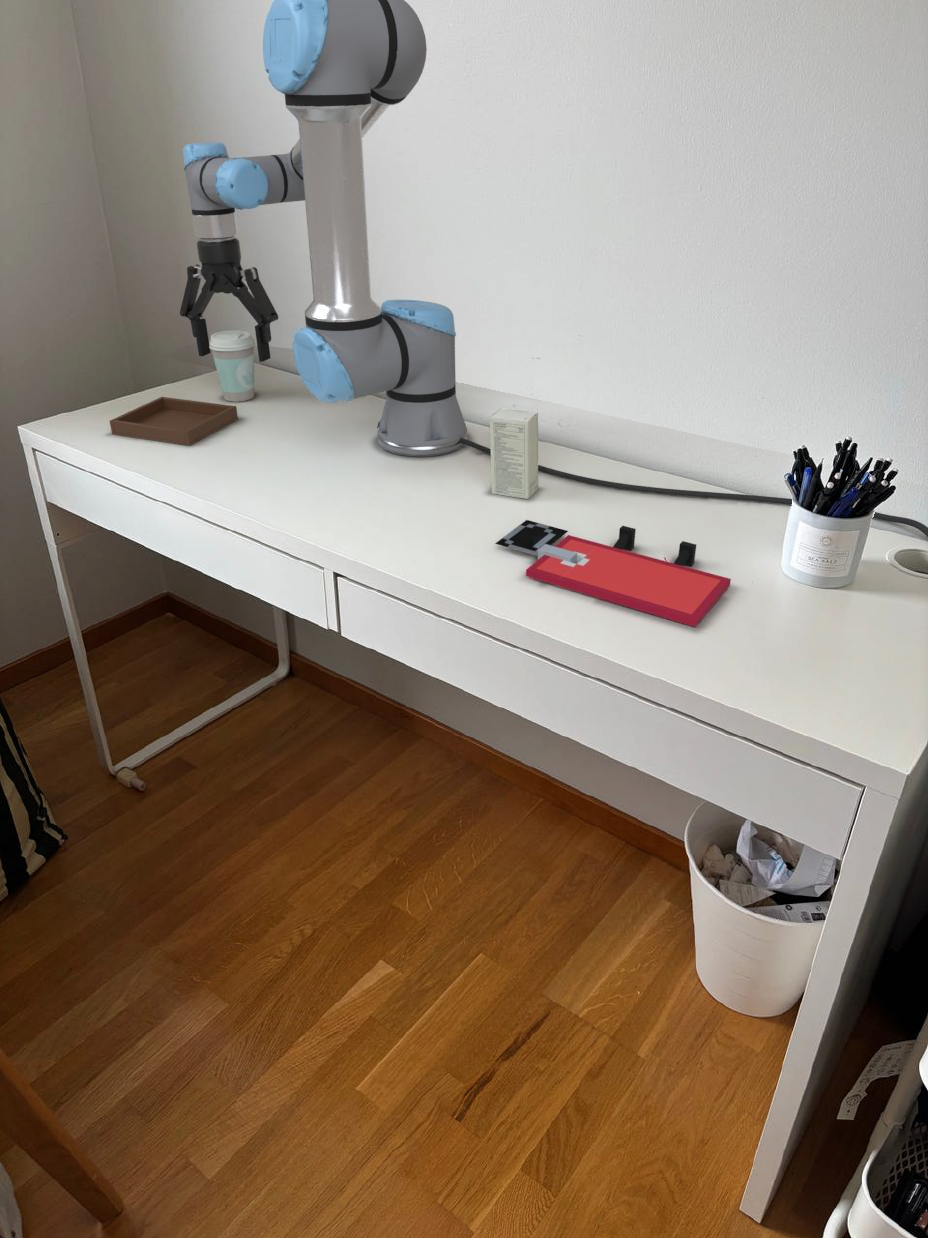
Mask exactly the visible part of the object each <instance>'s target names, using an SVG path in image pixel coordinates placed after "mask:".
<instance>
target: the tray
mask: <svg viewBox="0 0 928 1238" xmlns="http://www.w3.org/2000/svg"><path fill="white" fill-rule="evenodd" d="M237 409H238V408H237V405H229V404H223V403H222V404H221V403H214V402H205V401H200V400H199V401H198V400H190V399H183V398H176V397H175V398H174V397H168V396H160V397H157V398H156V399H154V400H151V401H150V402H149V401H148V402H147V403H145V404H143V405H140V406H138V407H136V408H134V409H132V410H130V411H127V412H125V413H123V414H120V415H119V416H117V417H114V418H113V419H111V420H109V425H110V430H111V435H115V436H121V437H127V438H134V439H142V440H146V441H147V440H148V441H155V442H162V443H167V444H168V443H169V444H175V445H182V446H188V447H191V446H192V445H194V444H196V443H197V442H199V441H201V440H203V439H205V438H207V437H208V436H209V437H210V435H212V434H214V433H215V432H218V431H219V430H221V429H223V428H225V427H227V426H229V425H230V424H232V423H234V422H237V421H238V420H239V417H238V410H237Z"/></svg>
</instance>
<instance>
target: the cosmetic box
mask: <svg viewBox="0 0 928 1238" xmlns="http://www.w3.org/2000/svg"><path fill="white" fill-rule="evenodd" d="M489 437H490V438H489V439H490V440H489V441H490V442H489V444H490V449H491V455H490V477H491V478H490V479H491V480H490V481H491V484H490V485H491V494H493V495H500V496H505V497H506V496H507V497H512V498H517V499H525V500H526V499H527V500H528V499H530V498H531V497H532V496H533V495H534V494H535V493H536V491H538V489H539V471H538V465H539V412H538V411H531V410H530V411H529V410H521V409H512V408H511V409H510V408H499V409H498V410H496V411H495V412H494V413H492V414H491V415H490V416H489Z"/></svg>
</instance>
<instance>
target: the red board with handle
mask: <svg viewBox="0 0 928 1238" xmlns="http://www.w3.org/2000/svg"><path fill="white" fill-rule="evenodd" d="M568 532H569V530H567V529H562V528H558V527H555V526H551V525H547V524H544V523H540V522H536V521H533V520H529V519H525V520H524V521H522V523H521V524H519V525H518V526H516V527H515V528H514V529H512V530H511V531H510V532H508V533H507V534H506V535H504V536H503V537H502V538H500V539H499V540H498V541H496V542H495V543H494V544H495V545H497V546H502V547H505V548H507V549H511V550H515V551H519V552H522V553H526V554H529V555H532V556H536V557H537V560H536V561H535V562H533V563H532V564H531V565H530V566H528V567H527V568H526V569H525V577H527V578H531V579H533V580H536V581H541V582H544V583H547V584H550V585H554V586H557V587H561V588H564V589H567V590H571V591H573V592H576V593H579V594H580V593H581V594H584V595H587V596H591V597H593V598H596V599H600V600H604V601H606V602H611V603H613V604H617V605H620V606H624V607H627V608H630V609H634V610H637V611H641V612H643V613H647V614H651V615H653V616H657V617H660V618H663V619H666V620H670V621H673V622H677V623H680V624H683V625H686V626H690V627H694V628H696V627H698V625H699V623H701V621H702V620H703V619H704V618H705V616H706V615H707V614H708V613H709V611H710V610H711V609H712V608H713V606H715V604H716V603H717V602H718V601H719V599H720V598H721V597H722V596H723V595H724V593H726V591H727V590H728V589H729V587H730V586H731V582H732V581H731V580H732V578H729V577H725V576H722V575H717V574H714V573H710V572H708V571H707V572H706V571H703V570H700V569H695V568H692V567H693V566H694V565H695V558H696V551H697V544H696V543H692V542H688V541H684V540H682V541H681V542H680V543H679V549H678V555H677V557H676V559H675V561H674V562H670V561H666V560H661V559H658V558H656V557H652V556H647V555H644V554H640V553H637V552H633V551H632V550H633V549H634V548H635V540H636V528H634V527H630V526H626V525H621V526H620V527H619V531H618V539H617V540H616V542H615V543H614V545H613V546H611V545H607V544H603V543H599V542H596V541H592V540H588V539H584V538H581V537H577V536H573V535H570V534H567V533H568ZM566 534H567V535H566ZM565 535H566V536H565ZM563 536H565V537H563ZM562 537H563V538H562ZM561 538H562V539H561ZM559 539H561V540H560V541H559V542H558V543H557V544H555V545H554V546H553V544H554V543H556V542H557V541H558V540H559Z"/></svg>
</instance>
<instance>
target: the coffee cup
mask: <svg viewBox="0 0 928 1238" xmlns="http://www.w3.org/2000/svg"><path fill="white" fill-rule="evenodd" d="M209 345H210V346H209V348H210V351H211V354H212V357H213V361H214V366H215V368H216V369H215V370H216V372H217V376H218V381H219V384H220V388H221V391H222V395H223V399H224V400H225V401H228V402H235V403H236V402H245V401H249V400H252V399H253V398H255V356H254V355H255V352H254V351H255V349H254V348H255V345H256V342H255V339H254V338H253V336H252V333H251V332H250V331H247V330H239V329H232V330H231V329H230V330H222V331H218V332H215V333H212V334H211V335H210V340H209Z"/></svg>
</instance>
